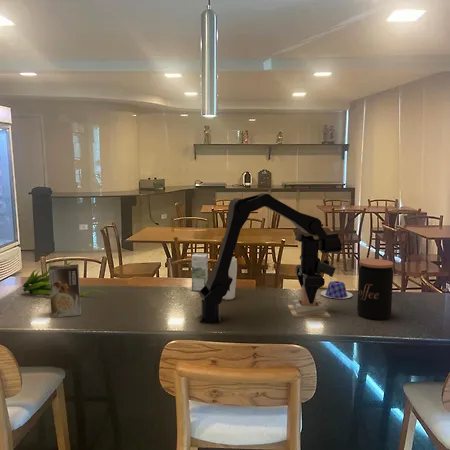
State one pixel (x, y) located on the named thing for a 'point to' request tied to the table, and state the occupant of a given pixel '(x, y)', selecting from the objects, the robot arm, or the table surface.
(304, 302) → the bracket block
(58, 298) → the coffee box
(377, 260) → the coffee jar
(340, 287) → the pudding
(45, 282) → the decorative plant
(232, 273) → the white tumbler
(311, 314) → the post socket
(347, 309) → the table surface
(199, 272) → the syrup box
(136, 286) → the table surface
